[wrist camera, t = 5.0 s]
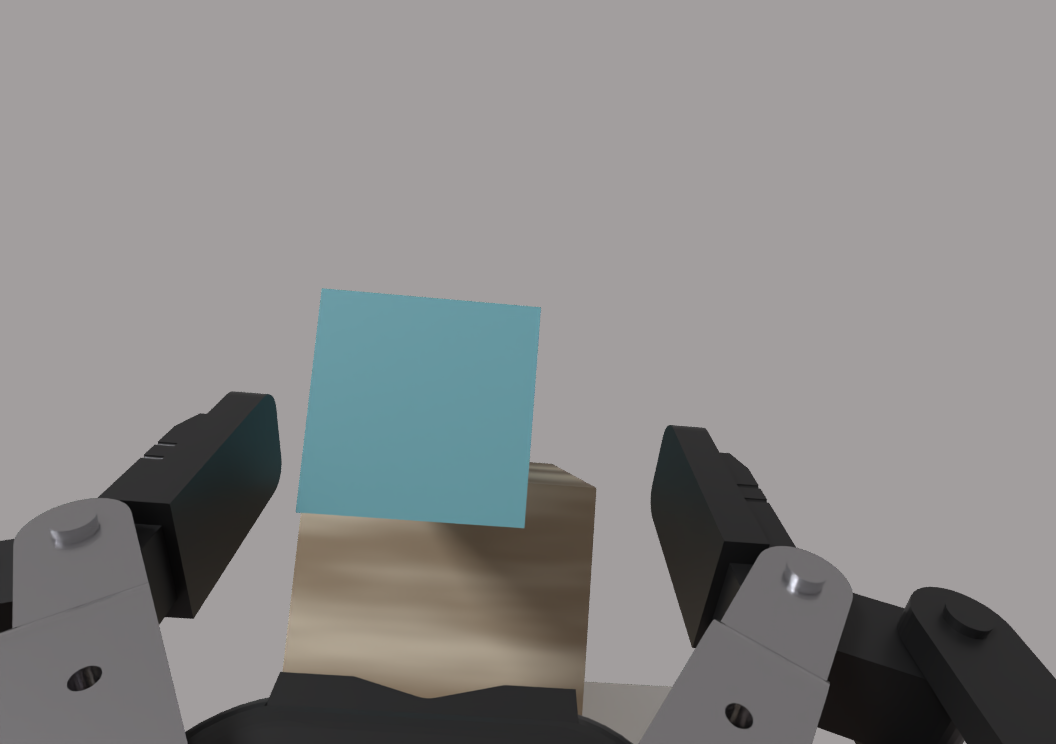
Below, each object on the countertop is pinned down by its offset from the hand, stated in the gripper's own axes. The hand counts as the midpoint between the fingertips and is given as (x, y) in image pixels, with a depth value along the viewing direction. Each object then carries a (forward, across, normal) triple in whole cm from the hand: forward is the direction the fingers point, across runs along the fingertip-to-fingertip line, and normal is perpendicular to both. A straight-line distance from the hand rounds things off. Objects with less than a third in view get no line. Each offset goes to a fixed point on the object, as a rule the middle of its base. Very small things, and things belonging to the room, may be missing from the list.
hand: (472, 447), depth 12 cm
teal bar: (+9, -1, -7) cm, 11 cm away
